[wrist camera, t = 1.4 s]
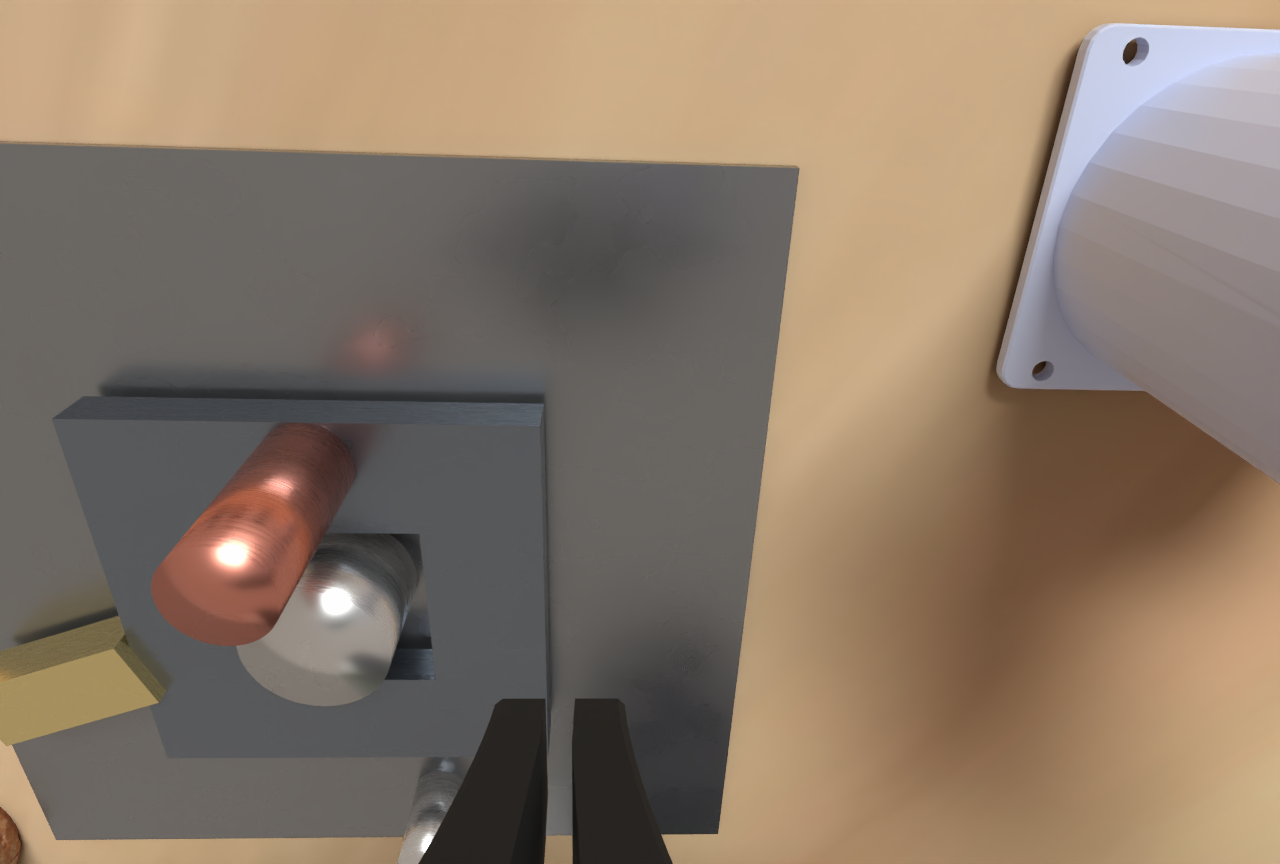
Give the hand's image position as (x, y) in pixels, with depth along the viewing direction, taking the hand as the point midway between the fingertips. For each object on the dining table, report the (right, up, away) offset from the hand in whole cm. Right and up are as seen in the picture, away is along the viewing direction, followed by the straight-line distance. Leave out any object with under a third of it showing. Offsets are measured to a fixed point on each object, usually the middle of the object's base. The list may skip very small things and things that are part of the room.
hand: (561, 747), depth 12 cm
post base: (-7, +1, +10) cm, 12 cm away
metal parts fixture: (-9, +1, +10) cm, 13 cm away
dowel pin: (-5, -7, +14) cm, 17 cm away
